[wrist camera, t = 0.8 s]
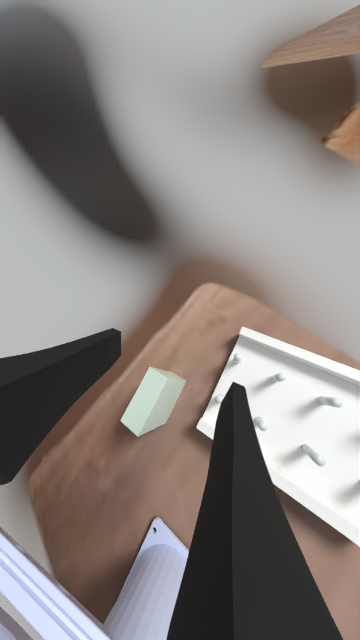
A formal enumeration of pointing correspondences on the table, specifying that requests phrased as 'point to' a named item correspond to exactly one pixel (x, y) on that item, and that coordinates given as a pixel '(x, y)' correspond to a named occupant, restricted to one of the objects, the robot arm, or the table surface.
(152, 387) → the block
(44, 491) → the table surface
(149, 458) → the table surface
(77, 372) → the robot arm
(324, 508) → the dish rack
